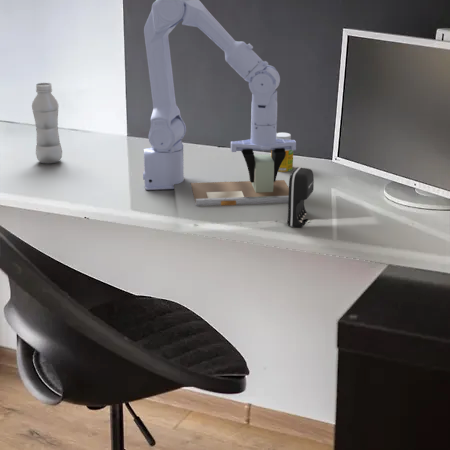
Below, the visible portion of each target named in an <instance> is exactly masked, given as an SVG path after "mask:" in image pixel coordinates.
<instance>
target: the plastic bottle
mask: <svg viewBox="0 0 450 450" xmlns="http://www.w3.org/2000/svg"><path fill="white" fill-rule="evenodd" d="M35 87H36V88H35V91H36V93H37V94H36V95H35V97H34V99H33V101H32V104H31V108H32V109H31V110H32V114H33V119H34V123H35V129H36V130H35V131H36V145H35V156H36V158H37V159H36V160H37V161H38V162H39V163H41V164H54V163H58V162H60V161H61V159H62V157H63V148H62V145H61V142H60V135H59V127H58V126H59V123H58V122H59V103H58V100H57V99H56V97H55V96H54V94H53V93H52V92H53V88H52V83H50V82H38V83H36V86H35Z"/></svg>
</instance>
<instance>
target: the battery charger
mask: <svg viewBox="0 0 450 450" xmlns="http://www.w3.org/2000/svg"><path fill="white" fill-rule="evenodd" d="M288 179H289V180H288V187H289V198H288V203H287V205H288V206H287V209H288V210H287V212H288V213H287V226H288V227H292V228H293V227H294V228H296V227H297V228H301V227H303V226H304V225H305V224H306V223H307V221H309V218H305V217H306V216H305V215H307V214H308V212H307V211H306V207H305V200H307V199H308V198H309V197H310V196H311V195H312V193H313V191H314V188H315V187H314V182H315V181H314V172H313V170H312V169H311V168H307V167H301V166H297V167H295V168H294V170H292V172H291V173H290V175H289V178H288Z"/></svg>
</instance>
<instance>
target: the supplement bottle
mask: <svg viewBox="0 0 450 450" xmlns="http://www.w3.org/2000/svg"><path fill="white" fill-rule="evenodd" d="M276 139H284V140H292V135H291V133H288V132H277V133H276ZM285 152H286V156H285V158H284V160H283V161H282V163H281V165H280V167H279V170H278V172H279V173H280V172H281V173H285V172H290V171H293V169H294V167H293V165H294V150H285ZM270 156H271V158H272V151H271V150H270Z"/></svg>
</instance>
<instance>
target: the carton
mask: <svg viewBox="0 0 450 450" xmlns="http://www.w3.org/2000/svg"><path fill="white" fill-rule="evenodd" d="M254 156H255V159H254V182H253V183H252V186H253V188H254V190H255V192H256V193H258V192H273V183H274V161H273V159H272V158H271V153H270V154H269V153H268V154H266V153H265V154H254Z"/></svg>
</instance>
